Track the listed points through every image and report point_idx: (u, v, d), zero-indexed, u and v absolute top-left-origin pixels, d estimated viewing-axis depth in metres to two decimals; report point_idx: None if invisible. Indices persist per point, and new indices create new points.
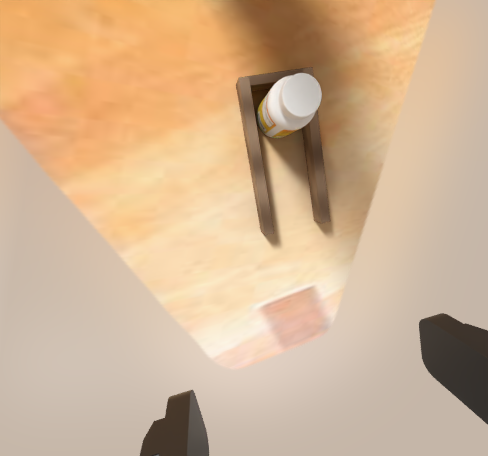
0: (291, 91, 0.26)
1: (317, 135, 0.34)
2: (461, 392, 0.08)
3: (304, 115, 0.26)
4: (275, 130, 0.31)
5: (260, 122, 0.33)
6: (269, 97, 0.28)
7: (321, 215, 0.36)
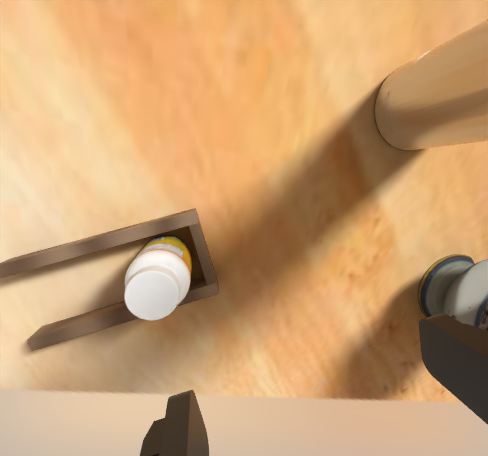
0: (154, 282, 0.20)
1: None
2: (461, 392, 0.08)
3: (126, 303, 0.20)
4: None
5: (150, 242, 0.27)
6: (158, 252, 0.22)
7: (38, 338, 0.26)
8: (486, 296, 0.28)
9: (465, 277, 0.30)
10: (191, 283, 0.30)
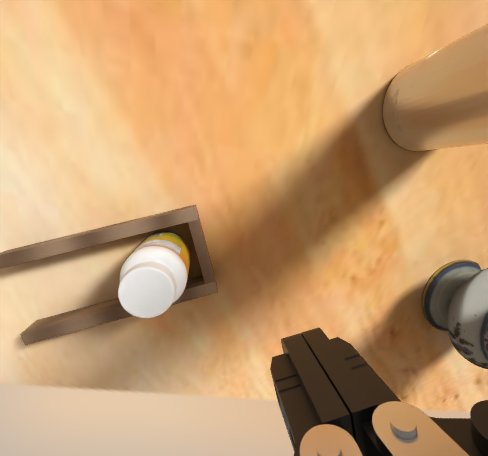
0: (149, 279, 0.19)
1: None
2: None
3: (120, 299, 0.19)
4: None
5: (148, 237, 0.27)
6: (155, 248, 0.22)
7: (31, 332, 0.26)
8: None
9: (472, 283, 0.29)
10: (189, 281, 0.29)
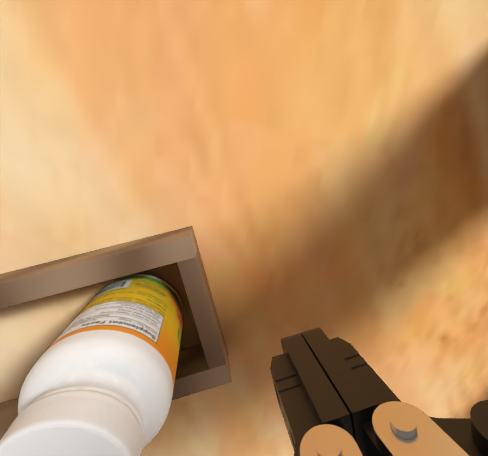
0: (64, 451, 0.07)
1: None
2: None
3: None
4: None
5: (105, 290, 0.14)
6: (98, 340, 0.10)
7: None
8: None
9: None
10: (181, 356, 0.17)
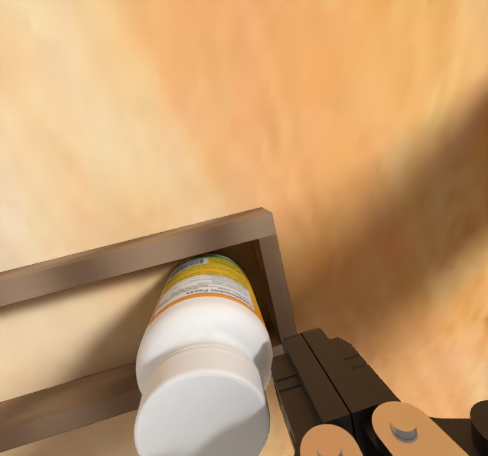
0: (211, 400, 0.08)
1: None
2: None
3: (140, 450, 0.08)
4: (153, 312, 0.13)
5: (184, 267, 0.15)
6: (211, 305, 0.10)
7: None
8: None
9: None
10: None
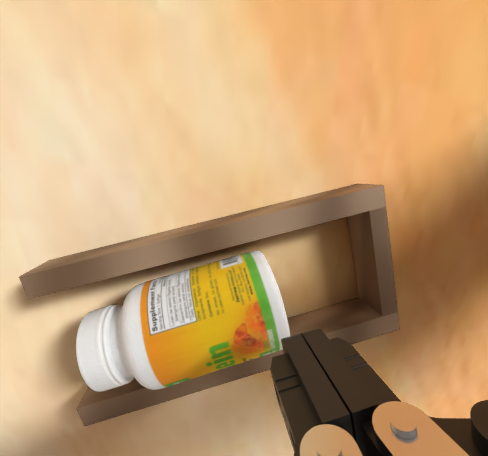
0: None
1: None
2: None
3: None
4: None
5: (227, 258, 0.15)
6: (129, 300, 0.13)
7: (96, 404, 0.15)
8: None
9: None
10: (340, 309, 0.18)
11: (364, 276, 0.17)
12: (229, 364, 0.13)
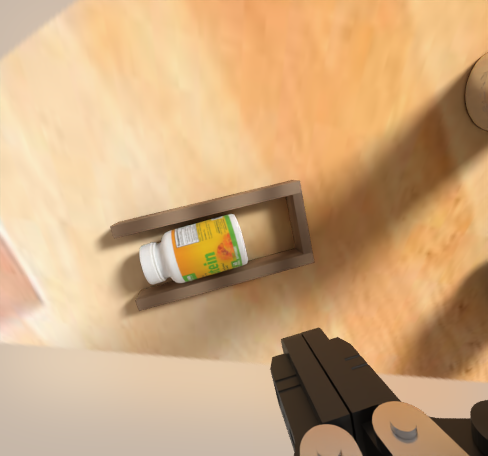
0: None
1: (244, 278, 0.29)
2: None
3: None
4: None
5: None
6: (165, 235, 0.26)
7: (145, 298, 0.27)
8: None
9: None
10: (283, 253, 0.31)
11: (295, 233, 0.30)
12: (215, 267, 0.25)
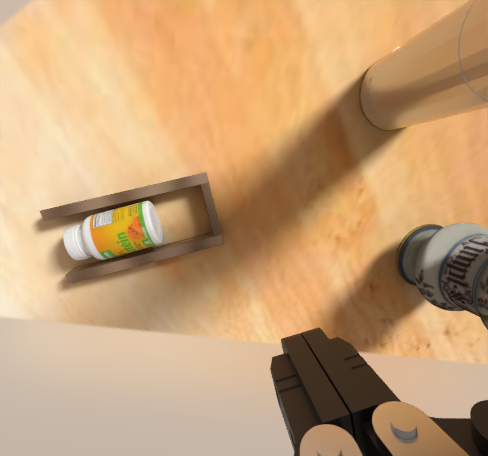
0: None
1: (161, 257, 0.33)
2: None
3: None
4: None
5: None
6: (86, 218, 0.30)
7: (74, 273, 0.32)
8: (448, 252, 0.33)
9: (433, 237, 0.35)
10: (200, 236, 0.35)
11: None
12: (128, 245, 0.30)
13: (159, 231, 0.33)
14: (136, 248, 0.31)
